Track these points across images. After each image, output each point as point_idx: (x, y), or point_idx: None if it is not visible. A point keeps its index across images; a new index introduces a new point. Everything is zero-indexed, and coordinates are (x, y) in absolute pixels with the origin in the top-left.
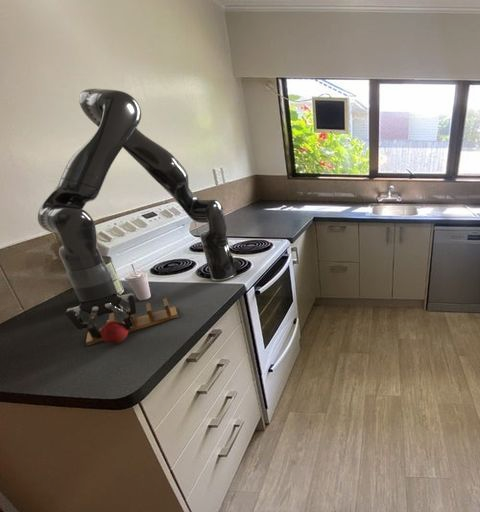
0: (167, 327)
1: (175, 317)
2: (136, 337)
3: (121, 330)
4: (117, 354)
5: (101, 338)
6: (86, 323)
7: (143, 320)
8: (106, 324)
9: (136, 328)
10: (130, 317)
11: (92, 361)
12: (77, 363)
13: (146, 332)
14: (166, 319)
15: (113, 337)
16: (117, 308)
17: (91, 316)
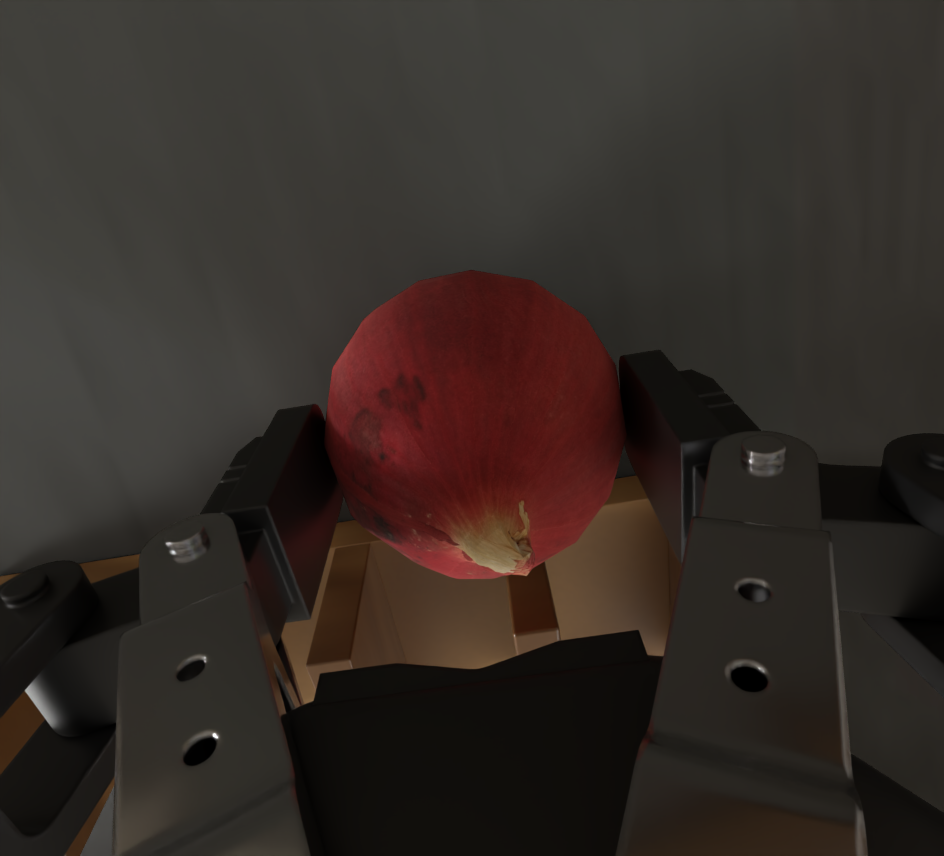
0: (27, 423)
1: (14, 575)
2: (316, 378)
3: (354, 364)
4: (436, 87)
5: (609, 356)
6: (843, 544)
7: (300, 628)
8: (532, 500)
9: (347, 532)
10: (333, 648)
11: (682, 86)
12: (819, 142)
13: (237, 429)
14: (88, 570)
15: (457, 283)
16: (124, 746)
17: (799, 620)
